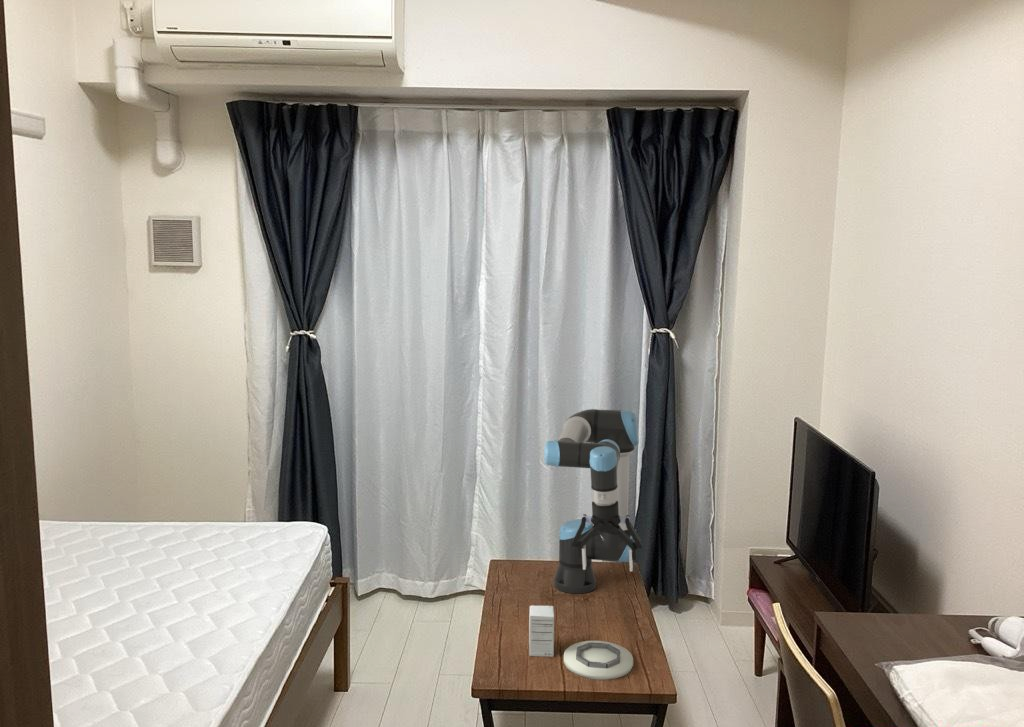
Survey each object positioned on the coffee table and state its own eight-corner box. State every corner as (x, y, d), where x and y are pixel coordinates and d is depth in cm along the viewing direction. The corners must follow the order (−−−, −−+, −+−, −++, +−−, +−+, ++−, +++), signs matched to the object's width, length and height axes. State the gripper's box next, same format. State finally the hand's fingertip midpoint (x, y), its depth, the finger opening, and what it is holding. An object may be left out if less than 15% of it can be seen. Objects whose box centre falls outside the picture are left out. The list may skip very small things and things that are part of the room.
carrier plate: (566, 642, 242) (566, 638, 242) (632, 648, 240) (632, 643, 239) (561, 676, 223) (561, 671, 222) (633, 682, 220) (633, 677, 220)
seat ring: (577, 645, 238) (577, 641, 238) (620, 648, 236) (620, 644, 236) (575, 666, 226) (575, 662, 225) (620, 669, 224) (620, 665, 224)
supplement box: (528, 644, 241) (529, 604, 240) (553, 645, 241) (554, 605, 239) (528, 656, 234) (529, 615, 232) (553, 657, 234) (554, 616, 232)
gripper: (559, 505, 227) (563, 573, 232) (648, 507, 222) (650, 576, 227) (563, 494, 234) (567, 560, 239) (649, 496, 229) (651, 563, 234)
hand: (607, 568), depth 233 cm, fingers open, 13 cm apart
